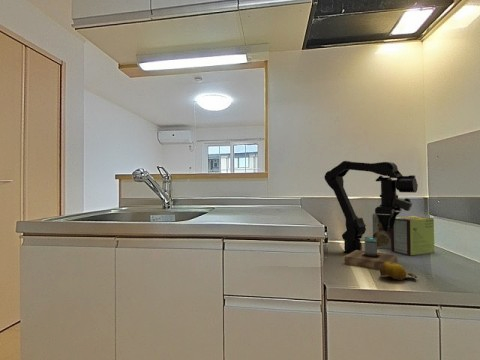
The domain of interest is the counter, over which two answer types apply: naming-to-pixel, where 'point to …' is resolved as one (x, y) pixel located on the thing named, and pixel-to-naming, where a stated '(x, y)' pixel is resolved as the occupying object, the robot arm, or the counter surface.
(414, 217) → the protein box
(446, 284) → the counter surface
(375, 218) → the coffee box
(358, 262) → the dock
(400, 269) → the fruit
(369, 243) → the grey and teal cylinder
